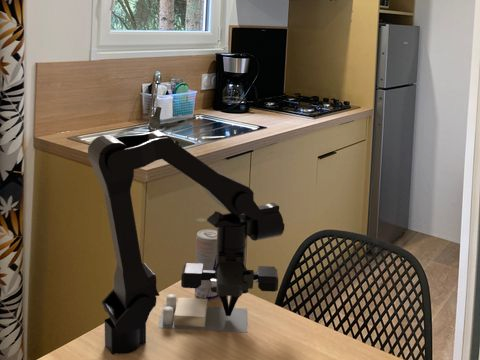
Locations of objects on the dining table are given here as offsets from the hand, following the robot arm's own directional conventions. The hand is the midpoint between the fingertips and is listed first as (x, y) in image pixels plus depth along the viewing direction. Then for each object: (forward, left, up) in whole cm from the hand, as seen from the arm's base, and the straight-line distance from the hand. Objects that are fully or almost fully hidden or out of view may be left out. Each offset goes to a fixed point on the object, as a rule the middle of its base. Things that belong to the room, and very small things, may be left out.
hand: (228, 315), depth 109 cm
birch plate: (-6, +5, -1) cm, 8 cm away
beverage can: (+2, +11, -2) cm, 12 cm away
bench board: (-4, +3, -2) cm, 5 cm away
